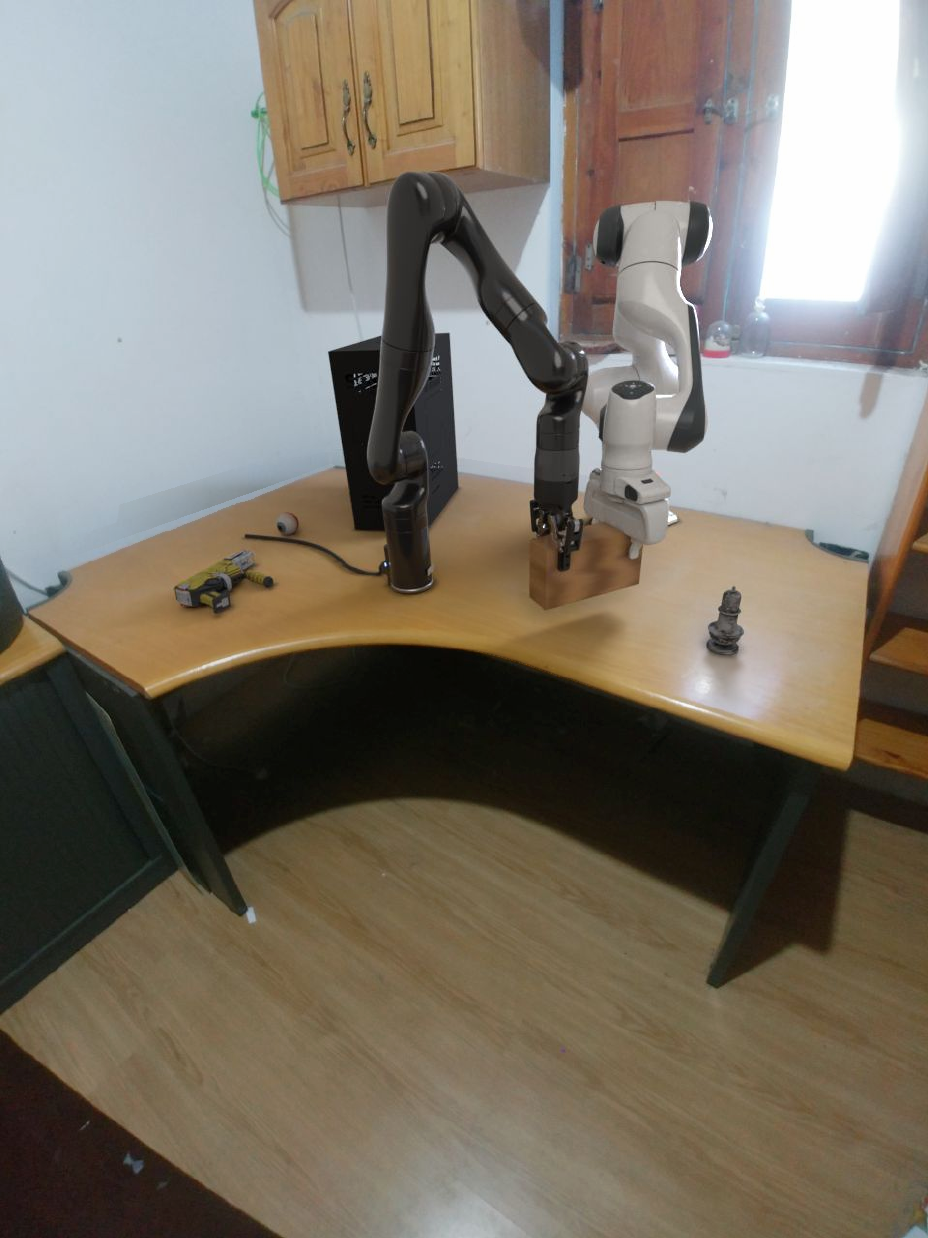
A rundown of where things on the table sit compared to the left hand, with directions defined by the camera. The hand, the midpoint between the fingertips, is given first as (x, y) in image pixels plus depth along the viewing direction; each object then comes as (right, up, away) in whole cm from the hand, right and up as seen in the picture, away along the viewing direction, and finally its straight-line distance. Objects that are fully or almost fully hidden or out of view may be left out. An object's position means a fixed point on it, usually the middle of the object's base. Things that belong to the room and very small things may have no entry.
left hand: (553, 563), depth 110 cm
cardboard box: (-32, +23, +69) cm, 80 cm away
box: (+7, -5, +6) cm, 10 cm away
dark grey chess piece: (+29, -15, -3) cm, 33 cm away
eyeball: (-64, +13, +55) cm, 86 cm away
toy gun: (-68, -3, +28) cm, 73 cm away
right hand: (+13, +3, +5) cm, 15 cm away
